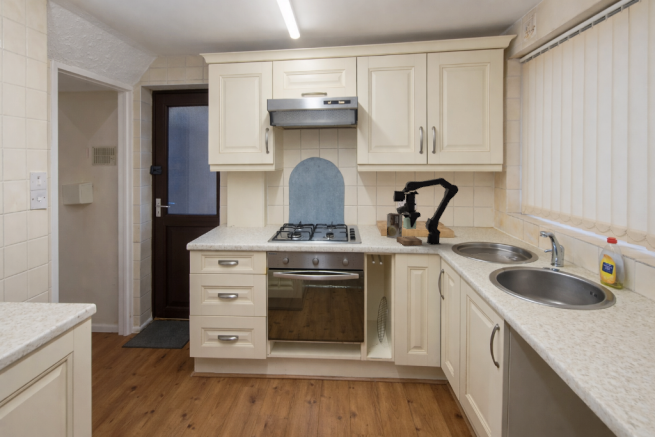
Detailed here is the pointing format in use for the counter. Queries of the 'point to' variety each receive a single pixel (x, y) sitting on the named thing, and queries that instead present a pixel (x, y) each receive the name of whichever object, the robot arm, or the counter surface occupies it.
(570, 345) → the counter surface
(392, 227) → the coffee box
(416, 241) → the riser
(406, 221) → the cube
